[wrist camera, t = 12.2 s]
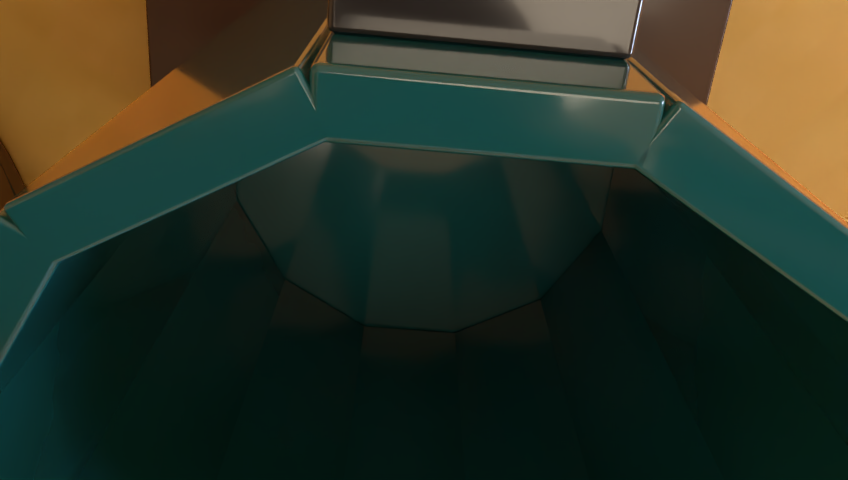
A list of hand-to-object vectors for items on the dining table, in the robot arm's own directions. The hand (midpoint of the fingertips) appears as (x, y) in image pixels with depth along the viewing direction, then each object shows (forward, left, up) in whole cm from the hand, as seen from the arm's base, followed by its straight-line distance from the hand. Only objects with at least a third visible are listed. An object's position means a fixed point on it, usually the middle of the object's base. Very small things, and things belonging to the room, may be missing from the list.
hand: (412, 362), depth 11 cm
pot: (0, 0, -9) cm, 9 cm away
